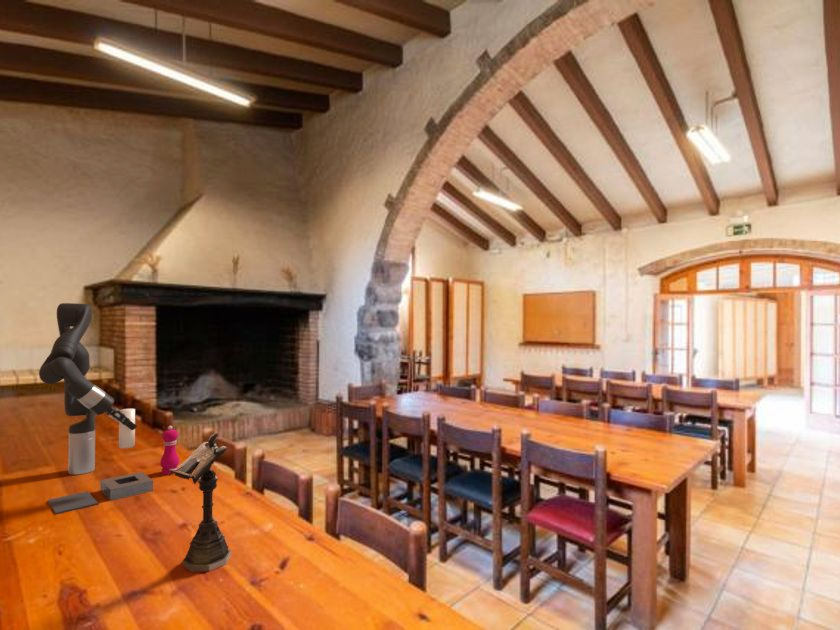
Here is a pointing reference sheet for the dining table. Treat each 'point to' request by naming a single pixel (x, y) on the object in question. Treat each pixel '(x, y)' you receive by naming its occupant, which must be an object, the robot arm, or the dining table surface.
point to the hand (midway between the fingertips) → (132, 426)
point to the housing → (126, 485)
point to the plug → (127, 430)
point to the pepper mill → (169, 451)
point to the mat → (72, 502)
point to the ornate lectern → (205, 510)
